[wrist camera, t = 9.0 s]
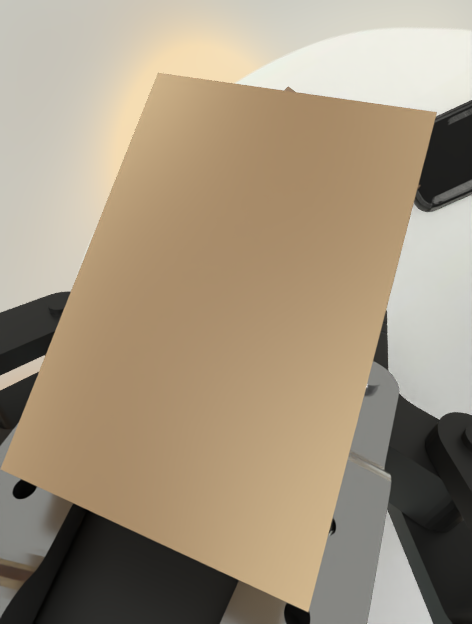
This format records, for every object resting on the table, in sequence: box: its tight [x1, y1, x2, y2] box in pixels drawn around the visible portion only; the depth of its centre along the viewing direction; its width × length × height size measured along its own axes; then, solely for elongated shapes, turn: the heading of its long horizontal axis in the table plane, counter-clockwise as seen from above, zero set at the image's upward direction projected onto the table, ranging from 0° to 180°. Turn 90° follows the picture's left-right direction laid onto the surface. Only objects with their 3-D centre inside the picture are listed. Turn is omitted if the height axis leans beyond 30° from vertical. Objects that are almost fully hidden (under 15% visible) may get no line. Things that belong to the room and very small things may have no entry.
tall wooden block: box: [1, 73, 437, 612], centre depth 10 cm, size 3×4×14 cm, turn 162°
